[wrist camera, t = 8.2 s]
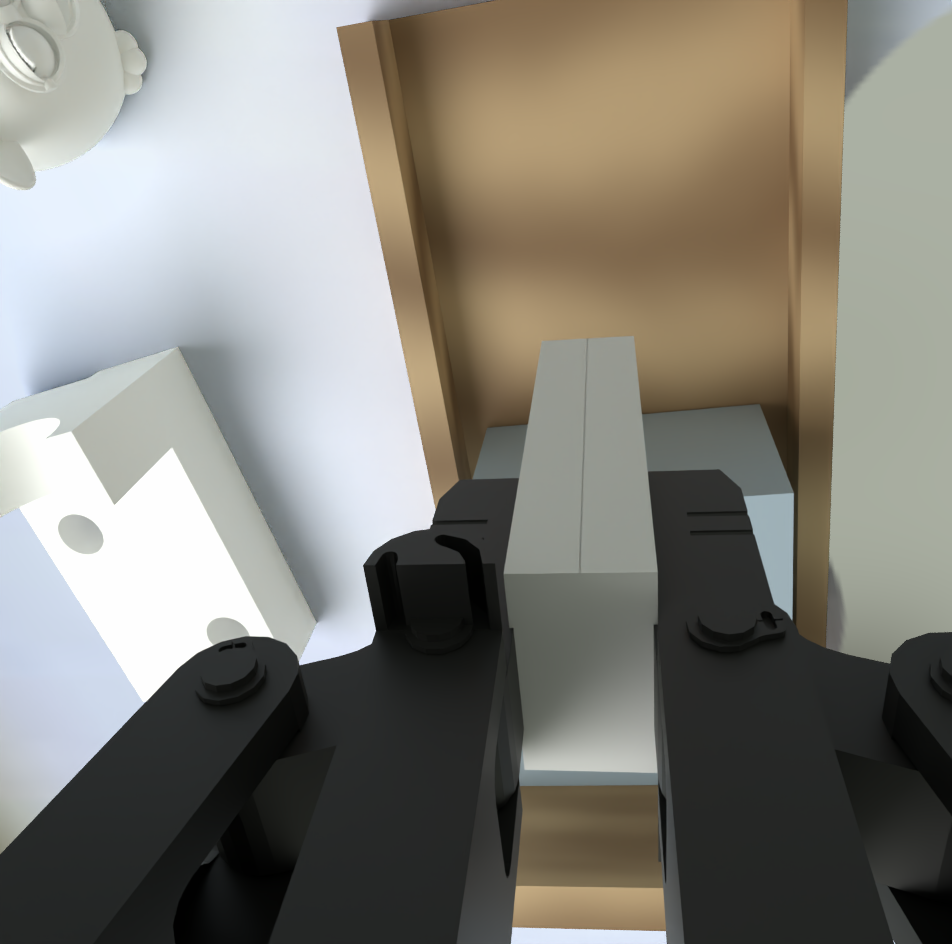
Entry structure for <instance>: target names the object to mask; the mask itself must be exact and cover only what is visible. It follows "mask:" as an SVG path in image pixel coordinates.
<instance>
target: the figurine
mask: <svg viewBox="0 0 952 944" xmlns="http://www.w3.org/2000/svg"><path fill="white" fill-rule="evenodd" d="M146 66H147V60H146V57H145V55H144V53H143V52H142V51H141V50H140V49H139V48H138V44H137V42H136V40H135V38H134V37H133V36H132V35H131V34H130V33H128V32H126V31H123V30H118V31H115V30H114V28H113V26H112V23H111V21H110V19H109V17H108V15H107V13H106V11H105V9H104V7H103V5H102V4H101V2H100V0H0V183H2V184H4V185H6V186H8V187H10V188H13V189H17V190H29V189H31V188H32V187H33V186H34V185H35V182H36V176H35V172H37V171H44V170H48V169H52V168H56V167H59V166H62V165H64V164H67V163H69V162H71V161H73V160H75V159H77V158H79V157H80V156H82V155H84V154H85V153H86V152H88V151H89V150H91V149H92V148H93V147H94V146H95V145H96V144H97V143H98V142H99V141H100V140H101V139H102V138H103V137H104V136H105V134H106V133H107V132H108V131H109V129H110V128H111V126H112V125H113V123H114V121H115V119H116V117H117V116H118V114H119V111H120V109H121V106H122V104H123V101H124V98H125V94H128V95H129V94H134V93H136V92H138V91H139V90H140V89H141V87H142V83H143V80H142V76H141V74H142V73H143V72H144V71H145V69H146Z"/></svg>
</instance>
